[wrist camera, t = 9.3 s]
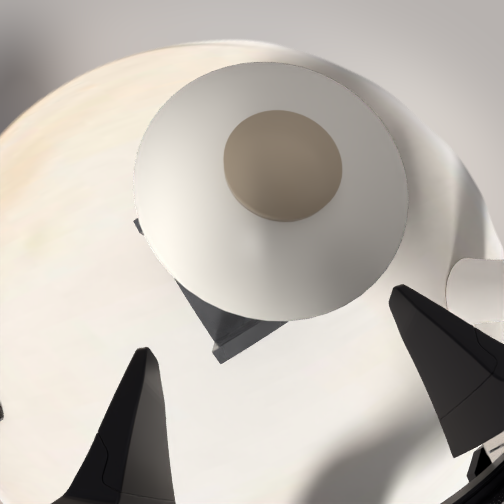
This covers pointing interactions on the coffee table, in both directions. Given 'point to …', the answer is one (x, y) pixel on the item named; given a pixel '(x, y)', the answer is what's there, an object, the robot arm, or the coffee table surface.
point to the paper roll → (270, 191)
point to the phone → (1, 414)
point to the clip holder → (227, 325)
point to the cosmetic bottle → (476, 290)
